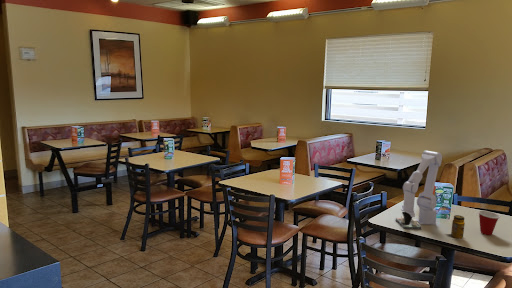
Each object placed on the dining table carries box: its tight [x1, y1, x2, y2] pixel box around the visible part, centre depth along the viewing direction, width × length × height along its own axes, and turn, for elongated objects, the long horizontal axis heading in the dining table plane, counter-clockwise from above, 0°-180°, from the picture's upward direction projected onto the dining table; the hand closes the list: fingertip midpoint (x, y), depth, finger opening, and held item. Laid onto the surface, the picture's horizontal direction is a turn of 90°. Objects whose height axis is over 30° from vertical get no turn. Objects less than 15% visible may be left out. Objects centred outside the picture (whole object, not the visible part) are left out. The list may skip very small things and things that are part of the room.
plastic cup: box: [478, 210, 501, 236], centre depth 225 cm, size 11×11×12 cm
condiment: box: [444, 214, 467, 240], centre depth 219 cm, size 7×8×12 cm
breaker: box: [412, 218, 418, 225], centre depth 232 cm, size 2×3×3 cm, turn 0°
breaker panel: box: [395, 217, 422, 230], centre depth 237 cm, size 10×14×2 cm
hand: (407, 224), depth 231 cm, fingers closed
